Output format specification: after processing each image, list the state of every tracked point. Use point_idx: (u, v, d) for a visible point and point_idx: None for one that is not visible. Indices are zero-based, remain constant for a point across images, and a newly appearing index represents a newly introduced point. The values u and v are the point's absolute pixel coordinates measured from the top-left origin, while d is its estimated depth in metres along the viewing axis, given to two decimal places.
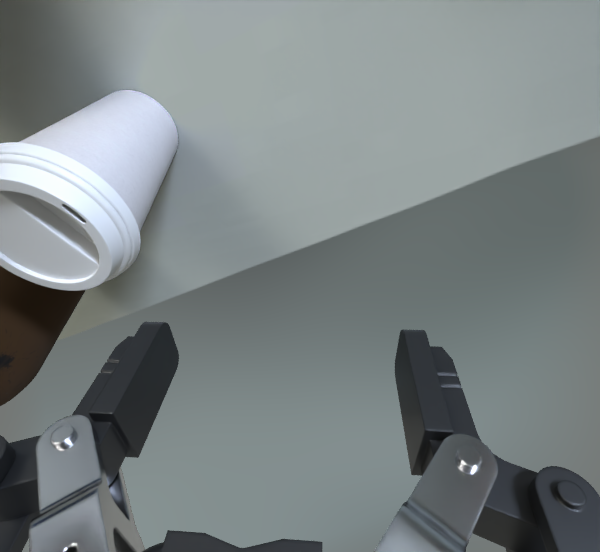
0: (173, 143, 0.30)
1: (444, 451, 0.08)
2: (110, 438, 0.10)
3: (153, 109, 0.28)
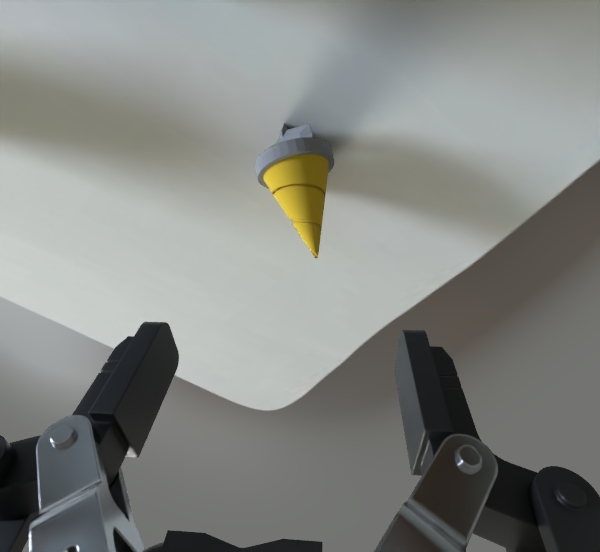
0: None
1: (444, 451, 0.08)
2: (110, 438, 0.10)
3: None
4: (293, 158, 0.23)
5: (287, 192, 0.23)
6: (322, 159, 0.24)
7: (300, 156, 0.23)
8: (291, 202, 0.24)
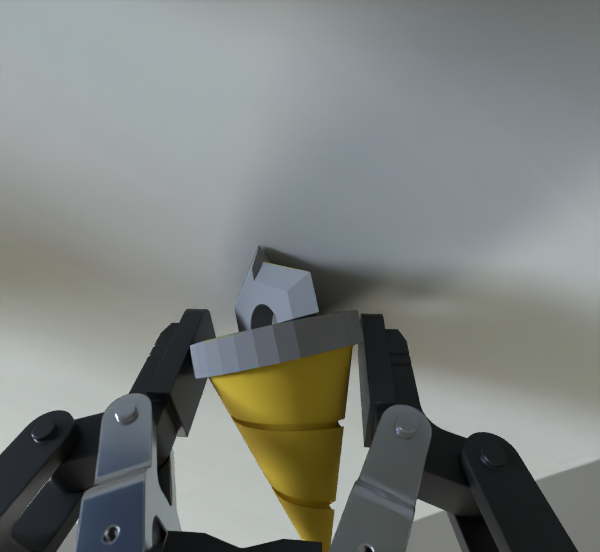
0: None
1: (384, 419, 0.09)
2: (166, 416, 0.10)
3: None
4: (270, 369, 0.09)
5: (257, 437, 0.10)
6: (340, 354, 0.10)
7: (287, 363, 0.09)
8: (265, 458, 0.10)
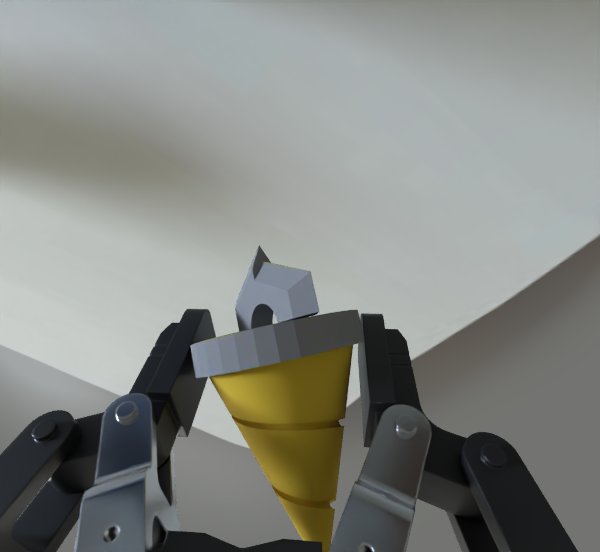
0: None
1: (384, 419, 0.09)
2: (166, 416, 0.10)
3: None
4: (270, 369, 0.09)
5: (257, 436, 0.10)
6: (340, 354, 0.10)
7: (288, 363, 0.09)
8: (266, 457, 0.10)
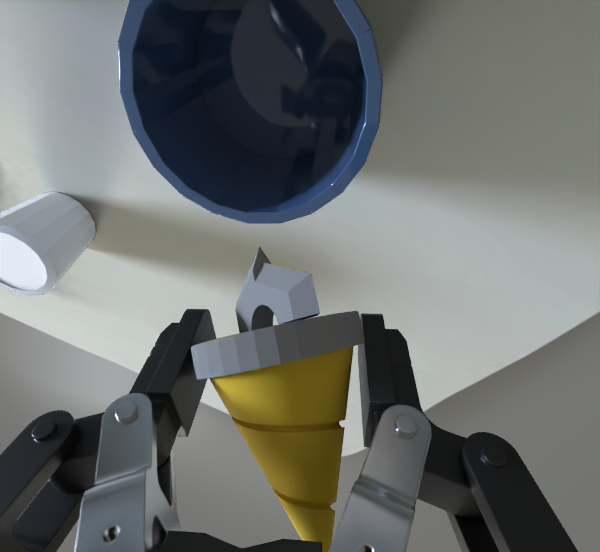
0: None
1: (384, 419, 0.09)
2: (166, 416, 0.10)
3: None
4: (271, 370, 0.09)
5: (258, 437, 0.10)
6: (341, 355, 0.10)
7: (288, 364, 0.09)
8: (266, 459, 0.10)
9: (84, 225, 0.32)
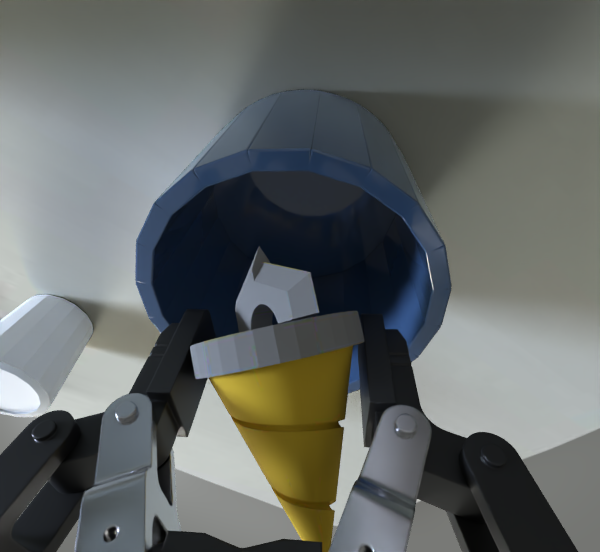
0: None
1: (384, 419, 0.09)
2: (166, 416, 0.10)
3: None
4: (270, 370, 0.09)
5: (257, 437, 0.10)
6: (340, 355, 0.10)
7: (287, 364, 0.09)
8: (265, 458, 0.10)
9: (81, 331, 0.29)
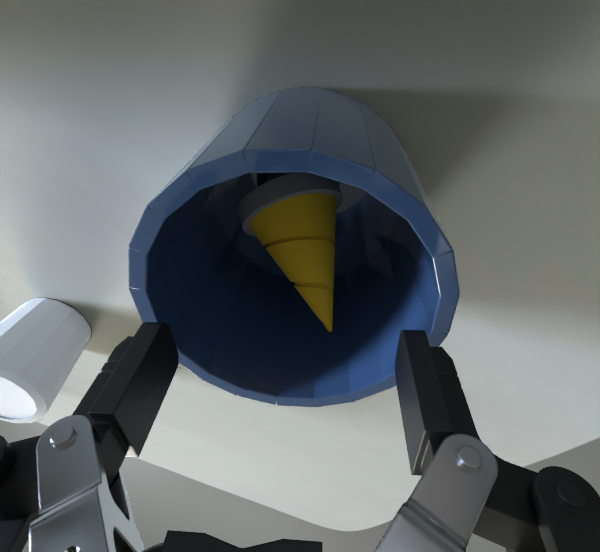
0: None
1: (444, 451, 0.08)
2: (110, 438, 0.10)
3: None
4: (285, 202, 0.17)
5: (282, 248, 0.17)
6: (325, 197, 0.17)
7: (294, 198, 0.17)
8: (288, 261, 0.17)
9: (78, 335, 0.29)
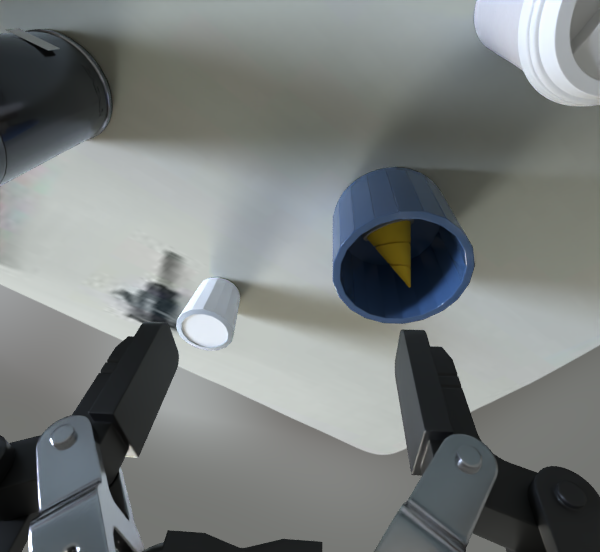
0: None
1: (444, 451, 0.08)
2: (110, 438, 0.10)
3: None
4: (390, 225, 0.35)
5: (387, 246, 0.36)
6: (408, 222, 0.36)
7: (395, 223, 0.35)
8: (390, 253, 0.36)
9: (238, 300, 0.47)
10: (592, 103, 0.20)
